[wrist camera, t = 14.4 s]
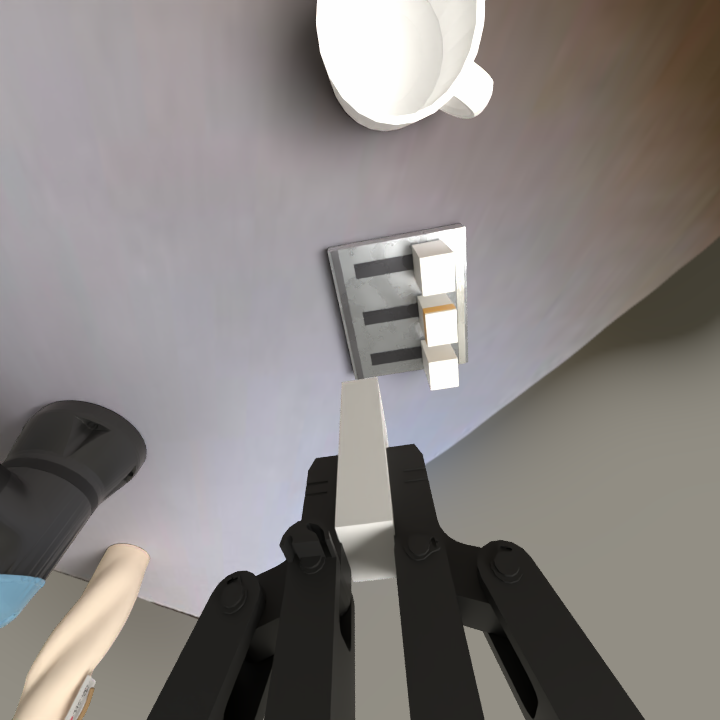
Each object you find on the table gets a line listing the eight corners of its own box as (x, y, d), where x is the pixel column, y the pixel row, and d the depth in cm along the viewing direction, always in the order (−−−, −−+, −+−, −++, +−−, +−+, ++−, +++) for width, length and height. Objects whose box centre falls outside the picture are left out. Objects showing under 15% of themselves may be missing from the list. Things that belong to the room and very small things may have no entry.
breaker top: (414, 279, 37) (423, 296, 33) (411, 244, 35) (419, 258, 31) (443, 274, 37) (455, 291, 32) (441, 239, 35) (453, 252, 31)
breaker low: (423, 366, 43) (431, 390, 38) (420, 340, 41) (428, 362, 36) (447, 362, 42) (458, 386, 38) (446, 336, 40) (457, 358, 36)
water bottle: (146, 537, 64) (21, 773, 40) (167, 564, 68) (67, 790, 44) (93, 543, 64) (-62, 779, 40) (118, 570, 69) (-7, 795, 45)
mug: (307, 88, 30) (288, 63, 22) (364, -58, 26) (370, -164, 17) (425, 169, 34) (450, 177, 25) (494, 52, 29) (554, 10, 21)
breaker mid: (419, 325, 40) (427, 347, 35) (416, 295, 38) (425, 314, 34) (446, 321, 40) (457, 342, 35) (445, 291, 38) (456, 309, 33)
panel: (355, 370, 46) (355, 380, 44) (328, 247, 37) (327, 252, 36) (463, 354, 45) (468, 362, 43) (460, 223, 36) (465, 227, 35)
